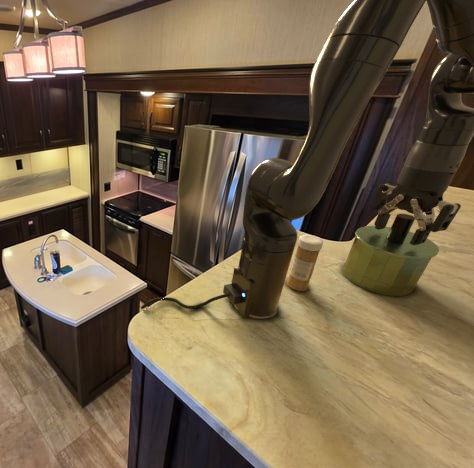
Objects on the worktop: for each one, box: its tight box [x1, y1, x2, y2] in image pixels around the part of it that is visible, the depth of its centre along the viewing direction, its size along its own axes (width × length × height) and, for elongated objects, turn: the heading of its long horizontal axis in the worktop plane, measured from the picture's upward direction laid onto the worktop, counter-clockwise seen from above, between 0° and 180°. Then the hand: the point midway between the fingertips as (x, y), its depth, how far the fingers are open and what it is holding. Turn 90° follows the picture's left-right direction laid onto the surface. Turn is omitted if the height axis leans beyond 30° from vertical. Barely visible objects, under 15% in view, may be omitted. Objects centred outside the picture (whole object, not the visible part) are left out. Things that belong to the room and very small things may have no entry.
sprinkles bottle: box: [286, 234, 324, 292], centre depth 68 cm, size 5×5×13 cm
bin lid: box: [354, 213, 440, 259], centre depth 65 cm, size 14×14×7 cm
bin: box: [342, 236, 432, 297], centre depth 69 cm, size 13×13×10 cm
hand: (396, 235), depth 66 cm, fingers open, 7 cm apart
